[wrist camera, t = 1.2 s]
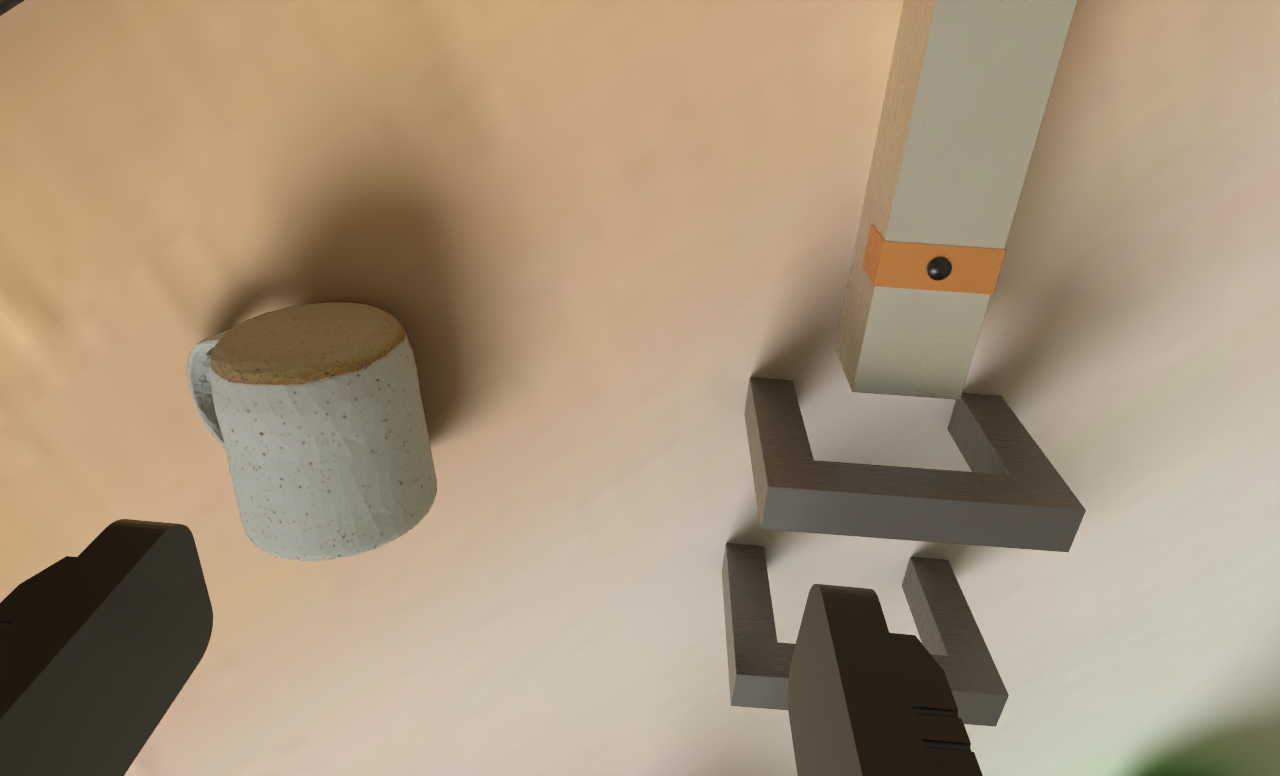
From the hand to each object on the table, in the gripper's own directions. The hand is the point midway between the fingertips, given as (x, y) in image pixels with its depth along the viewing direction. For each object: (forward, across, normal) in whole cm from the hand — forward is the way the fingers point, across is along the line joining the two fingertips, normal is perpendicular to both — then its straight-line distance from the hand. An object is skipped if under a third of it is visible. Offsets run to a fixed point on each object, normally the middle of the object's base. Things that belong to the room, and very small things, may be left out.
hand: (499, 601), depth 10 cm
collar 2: (+21, -12, +18) cm, 30 cm away
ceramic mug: (+22, +12, +10) cm, 27 cm away
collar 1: (+22, -12, +9) cm, 26 cm away
